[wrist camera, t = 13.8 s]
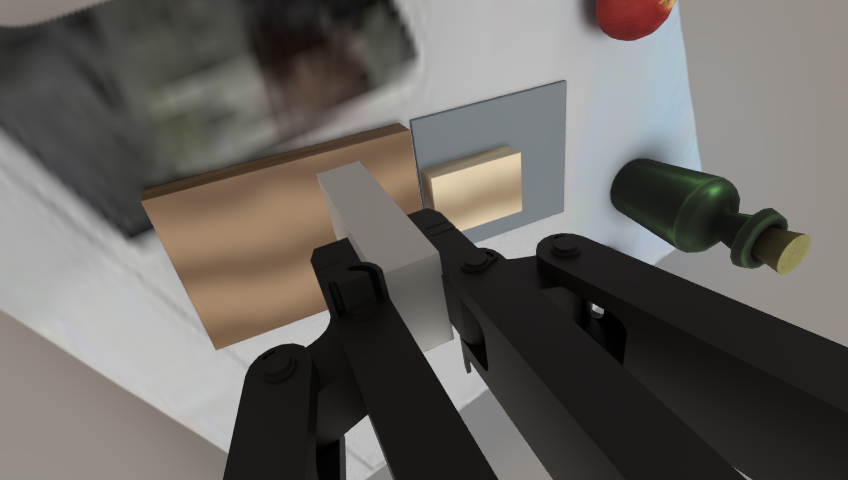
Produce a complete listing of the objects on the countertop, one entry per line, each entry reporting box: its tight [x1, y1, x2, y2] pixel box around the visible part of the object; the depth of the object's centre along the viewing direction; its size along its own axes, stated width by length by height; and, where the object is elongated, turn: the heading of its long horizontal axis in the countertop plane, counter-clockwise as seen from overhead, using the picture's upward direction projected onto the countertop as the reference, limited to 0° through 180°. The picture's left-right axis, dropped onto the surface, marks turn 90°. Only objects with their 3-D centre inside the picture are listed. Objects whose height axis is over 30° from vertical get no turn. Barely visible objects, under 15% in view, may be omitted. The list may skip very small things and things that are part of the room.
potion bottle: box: [611, 159, 810, 274], centre depth 46 cm, size 8×8×18 cm
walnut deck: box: [141, 123, 422, 350], centre depth 39 cm, size 14×20×2 cm
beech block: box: [420, 145, 522, 231], centre depth 43 cm, size 6×9×2 cm, turn 98°
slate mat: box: [410, 80, 567, 244], centre depth 45 cm, size 14×16×1 cm
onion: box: [596, 0, 676, 41], centre depth 38 cm, size 6×6×8 cm
